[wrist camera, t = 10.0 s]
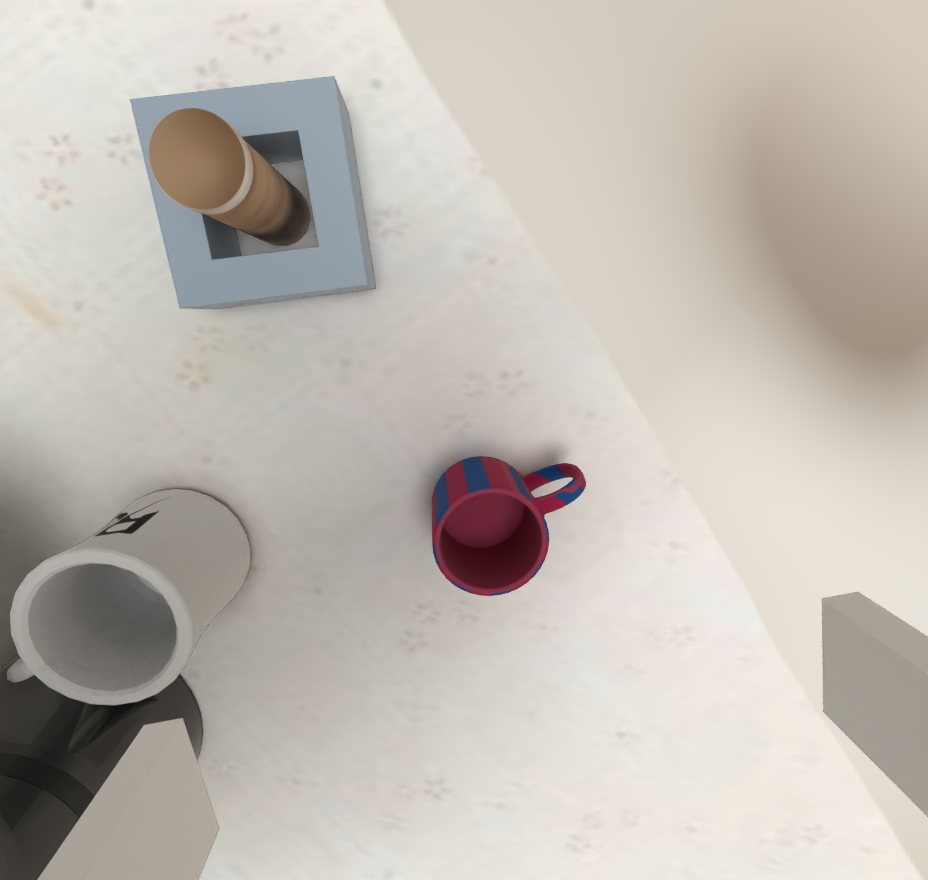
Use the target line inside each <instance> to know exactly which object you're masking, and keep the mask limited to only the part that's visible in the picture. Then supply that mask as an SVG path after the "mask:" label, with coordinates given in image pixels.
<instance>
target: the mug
mask: <svg viewBox="0 0 928 880" xmlns="http://www.w3.org/2000/svg"><path fill="white" fill-rule="evenodd" d="M250 551H251V550H250V546H249V542H248V538H247V534H246V532H245V530H244V529H243V527H242V525H241V523H240V521H239V520H238V518H237V517H236V516H235V515H234V514H233V513H232V512H231V511H230V510H229V509H228V508H227V507H226V506H224V505H223V504H221V503H220V502H218V501H216V500H215V499H213V498H212V497H210V496H207V495H204V494H201V493H198V492H196V491H193V490H182V489H170V490H163V491H156V492H153V493H150V494H148V495H146V496H143V497H141V498H139V499H136V500H135V501H134V502H132V503H131V504H130V505H129V506H128V507H126V508H125V509H124V510H123V511H121V512H120V513H119V514H118V515H117V516H116V517H115V518H114V519H113V520H112V521H110V522H109V523H108V524H107V525H106V526H105V527H104V528H103V529H101V530H100V531H98V532H97V533H96V534H94V535H93V536H91V537H90V538H89V539H87V540H86V541H84V542H82V543H80V544H78V545H76V546H73V547H71V548H69V549H67V550H65V551H62V552H60V553H58V554H56V555H54V556H52V557H50V558H47V559H45V560H44V561H43V562H42V563H40V564H39V565H38V566H37V567H36V568H34V569H33V570H32V571H31V572H30V573H28V574H27V575H26V577H25V578H24V580H23V581H22V583H21V584H20V586H19V587H18V589H17V590H16V592H15V595H14V599H13V602H12V606H11V610H10V625H11V635H12V638H13V641H14V644H15V646H16V649H17V652H18V654H19V656H20V657H21V658H20V659H19V660H17V661H16V662H15V663H14V664H13V665H12V666H11V667H10V668H9V669H8V671H7V680H9V681H11V682H19V681H23V680H26V679H28V678H30V677H32V676H33V675H35V676H36V677H38V678H39V679H40V680H41V681H42V682H43V683H45V684H46V685H47V686H48V687H50V688H52V689H54V690H55V691H57V692H59V693H61V694H63V695H65V696H67V697H69V698H72V699H75V700H79V701H82V702H86V703H89V704H99V705H120V704H126V703H132V702H138V701H140V700H143V699H145V698H148V697H150V696H153V695H155V694H157V693H159V692H160V691H161V690H163V689H164V688H165V687H167V686H168V685H169V684H171V683H172V682H173V681H174V680H175V679H176V678H177V676H178V675H179V674H180V672H181V671H182V669H183V668H184V667H185V665H186V664H187V662H188V660H189V658H190V656H191V654H192V652H193V650H194V648H195V646H196V644H197V642H198V640H199V638H200V636H201V634H202V632H203V631H204V629H205V628H206V627H207V625H208V624H209V623H210V621H211V620H212V619H213V618H214V617H215V616H216V615H217V614H218V613H219V612H220V611H221V610H222V609H223V608H224V607H225V606H226V605H227V604H228V603H229V602H230V601H231V600H232V599H233V598H234V597H235V595H236V594H237V593H238V591H239V590H240V589H241V587H242V586H243V584H244V581H245V579H246V576H247V573H248V570H249V567H250Z"/></svg>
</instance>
